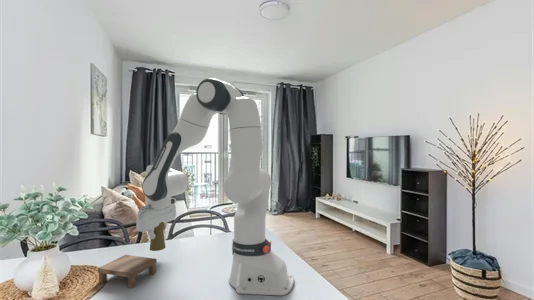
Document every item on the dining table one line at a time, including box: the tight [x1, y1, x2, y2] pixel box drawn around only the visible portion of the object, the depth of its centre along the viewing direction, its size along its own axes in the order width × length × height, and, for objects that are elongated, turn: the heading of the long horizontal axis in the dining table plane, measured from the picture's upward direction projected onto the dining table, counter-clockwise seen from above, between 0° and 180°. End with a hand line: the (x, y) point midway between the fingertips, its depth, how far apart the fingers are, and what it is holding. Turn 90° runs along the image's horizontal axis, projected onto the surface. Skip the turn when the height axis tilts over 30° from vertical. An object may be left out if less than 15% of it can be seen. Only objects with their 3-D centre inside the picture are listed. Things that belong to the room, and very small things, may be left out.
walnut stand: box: [97, 254, 157, 289], centre depth 95 cm, size 14×12×5 cm
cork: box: [149, 222, 166, 252], centre depth 109 cm, size 6×6×11 cm
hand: (157, 236), depth 109 cm, fingers closed on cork, 4 cm apart
